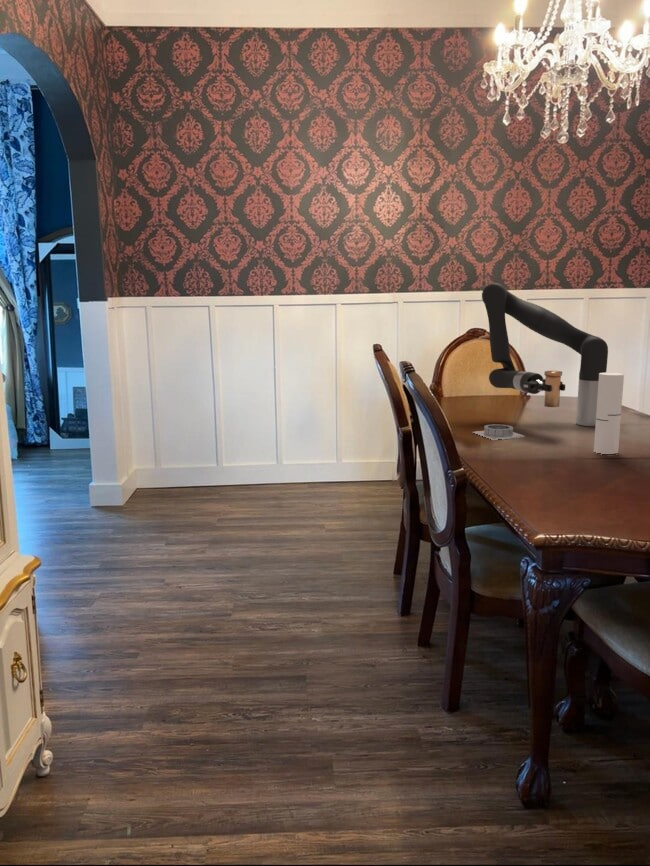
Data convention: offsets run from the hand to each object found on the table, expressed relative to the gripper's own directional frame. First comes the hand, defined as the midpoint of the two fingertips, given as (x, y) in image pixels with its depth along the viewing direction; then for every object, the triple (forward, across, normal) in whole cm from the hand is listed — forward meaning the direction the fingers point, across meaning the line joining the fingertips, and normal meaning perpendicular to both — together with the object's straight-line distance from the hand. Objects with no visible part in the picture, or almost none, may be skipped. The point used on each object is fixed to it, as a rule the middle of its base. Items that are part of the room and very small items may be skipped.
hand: (557, 388), depth 238 cm
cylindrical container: (+23, +2, +18) cm, 29 cm away
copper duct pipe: (-3, 0, +7) cm, 7 cm away
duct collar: (-12, -15, +18) cm, 26 cm away
